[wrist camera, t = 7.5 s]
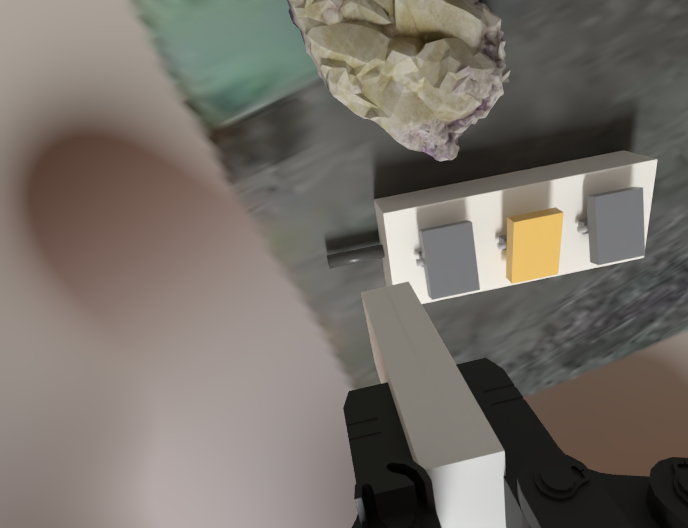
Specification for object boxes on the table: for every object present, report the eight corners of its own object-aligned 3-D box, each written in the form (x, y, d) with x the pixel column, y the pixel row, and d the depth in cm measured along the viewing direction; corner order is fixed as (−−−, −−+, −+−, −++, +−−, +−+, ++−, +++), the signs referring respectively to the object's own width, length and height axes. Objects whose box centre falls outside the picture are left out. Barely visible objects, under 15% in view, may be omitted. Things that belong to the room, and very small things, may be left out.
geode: (338, -84, 35) (274, 103, 37) (311, -189, 26) (228, 70, 28) (548, -15, 33) (465, 177, 36) (599, -100, 24) (482, 166, 27)
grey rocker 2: (586, 196, 36) (594, 197, 35) (633, 186, 36) (642, 187, 35) (590, 262, 38) (598, 265, 37) (635, 252, 38) (644, 255, 37)
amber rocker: (507, 217, 35) (513, 222, 34) (555, 207, 36) (563, 212, 35) (505, 277, 38) (511, 283, 37) (551, 267, 38) (558, 274, 37)
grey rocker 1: (418, 229, 36) (421, 231, 35) (466, 220, 36) (471, 221, 35) (428, 295, 37) (431, 299, 36) (475, 286, 37) (480, 289, 36)
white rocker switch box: (317, 210, 39) (322, 230, 34) (623, 150, 40) (668, 161, 36) (335, 298, 43) (341, 327, 38) (614, 241, 44) (652, 262, 39)
